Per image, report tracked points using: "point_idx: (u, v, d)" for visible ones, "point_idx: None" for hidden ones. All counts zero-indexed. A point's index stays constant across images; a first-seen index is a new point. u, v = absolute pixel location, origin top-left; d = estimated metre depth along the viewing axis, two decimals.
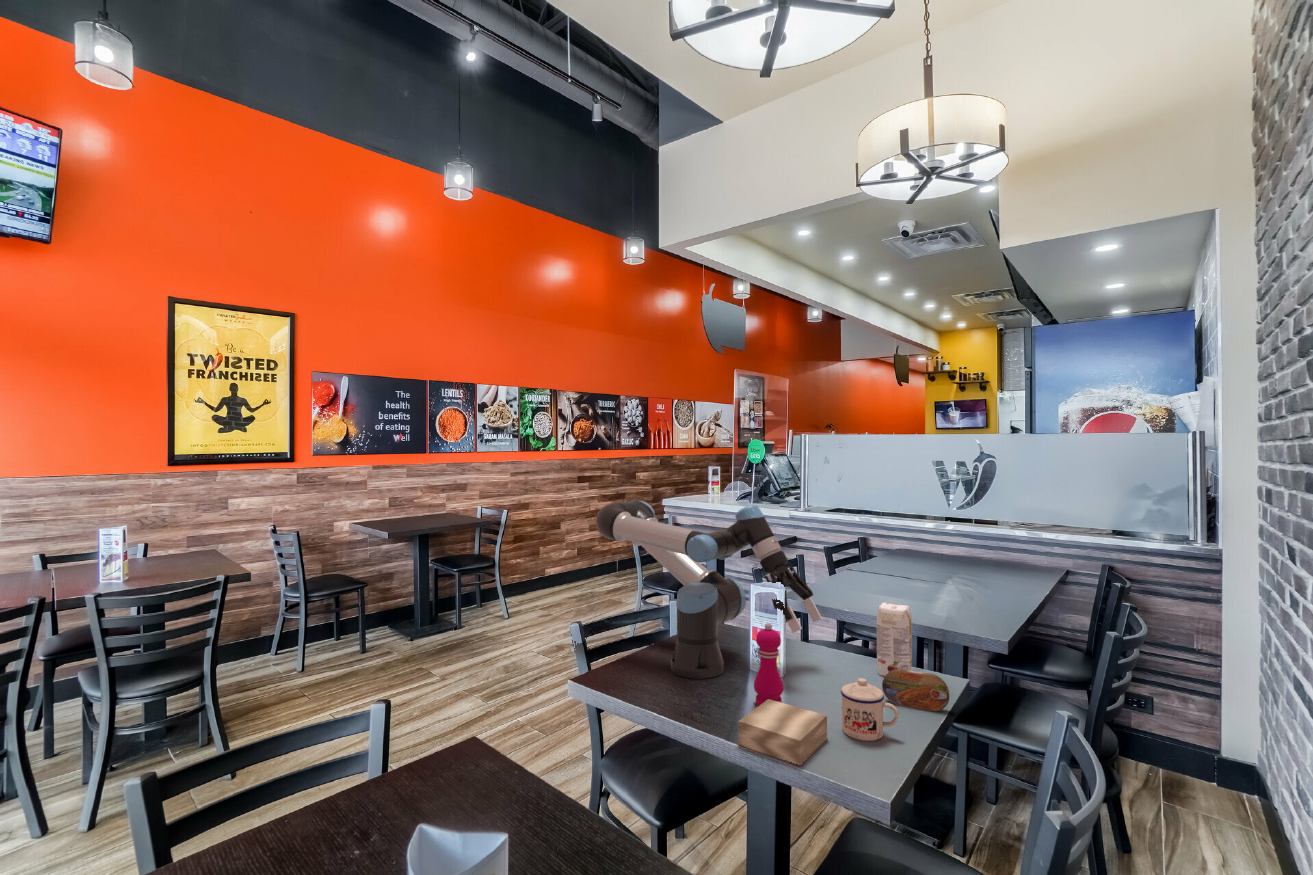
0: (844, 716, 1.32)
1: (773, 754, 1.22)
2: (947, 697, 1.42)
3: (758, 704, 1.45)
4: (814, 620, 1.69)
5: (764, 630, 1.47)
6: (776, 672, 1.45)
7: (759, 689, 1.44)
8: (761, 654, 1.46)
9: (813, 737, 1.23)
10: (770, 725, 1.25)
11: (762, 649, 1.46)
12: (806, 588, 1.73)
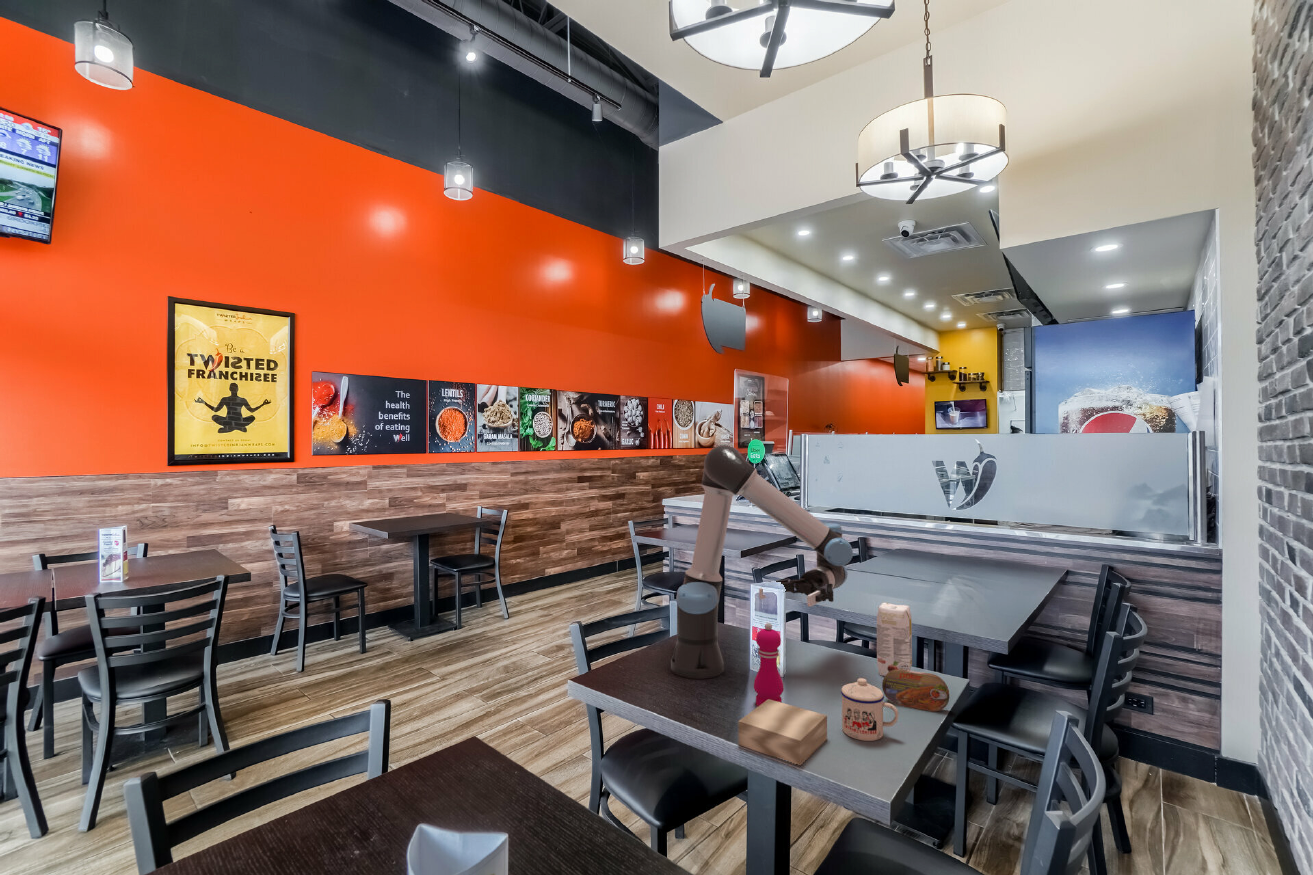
0: (844, 716, 1.32)
1: (773, 754, 1.22)
2: (947, 697, 1.42)
3: (758, 704, 1.45)
4: (762, 590, 1.59)
5: (764, 630, 1.47)
6: (776, 672, 1.45)
7: (759, 689, 1.44)
8: (761, 654, 1.46)
9: (813, 737, 1.23)
10: (770, 725, 1.25)
11: (762, 649, 1.46)
12: None
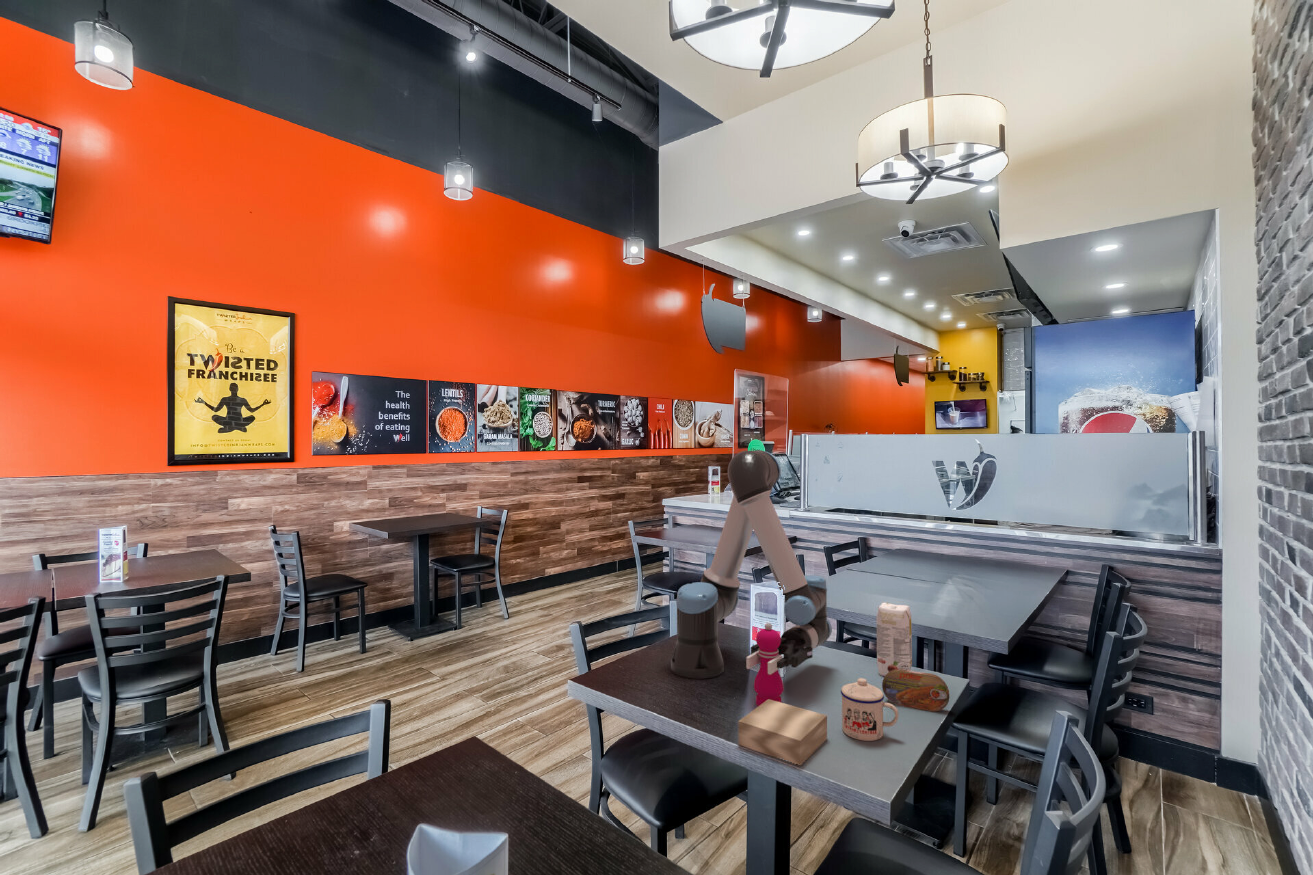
0: (844, 716, 1.32)
1: (773, 754, 1.22)
2: (947, 697, 1.42)
3: (758, 704, 1.45)
4: (749, 659, 1.45)
5: (764, 630, 1.47)
6: (776, 672, 1.45)
7: (759, 689, 1.44)
8: (761, 654, 1.46)
9: (813, 737, 1.23)
10: (770, 725, 1.25)
11: (762, 649, 1.46)
12: None
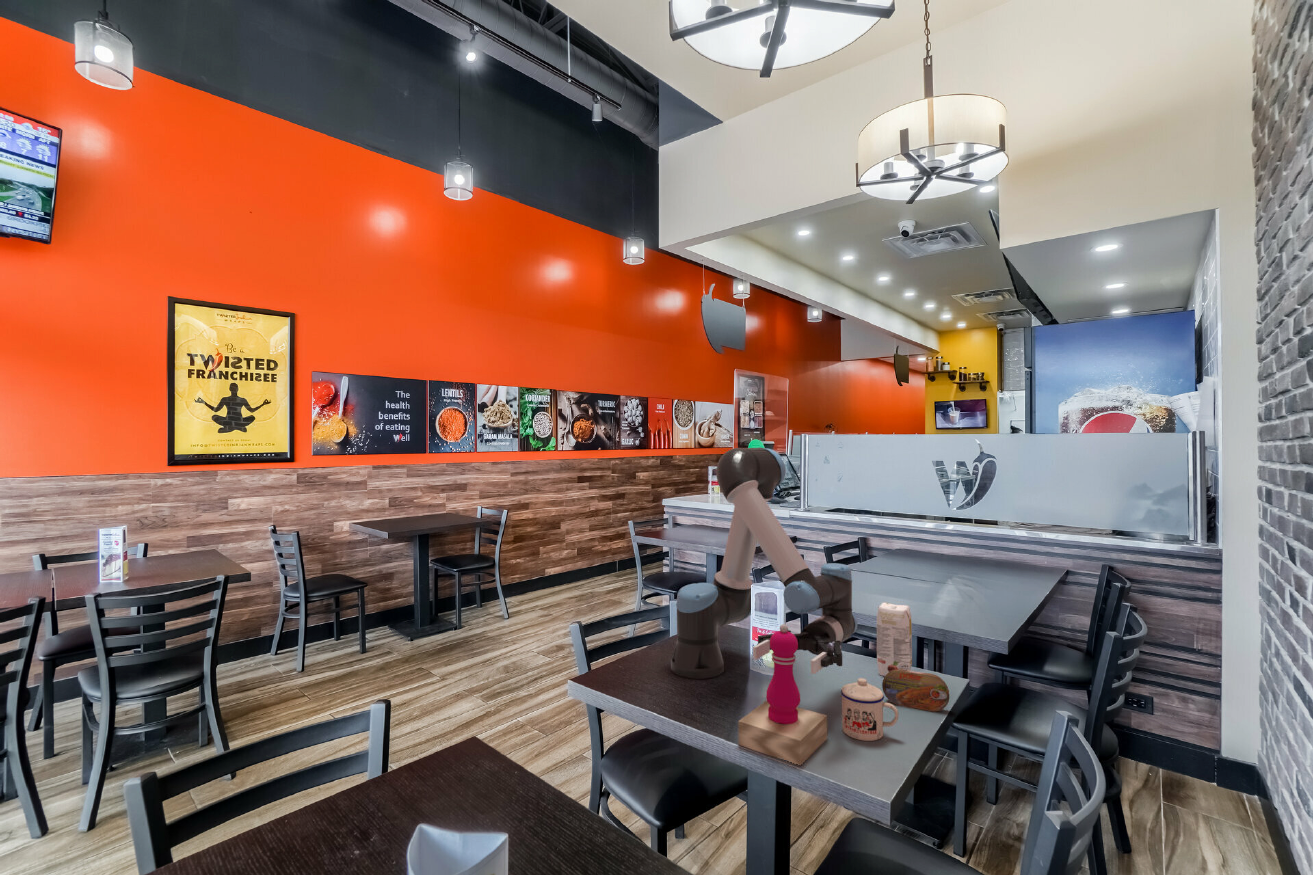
0: (844, 716, 1.32)
1: (773, 754, 1.22)
2: (947, 697, 1.42)
3: (771, 717, 1.27)
4: (756, 649, 1.32)
5: (779, 632, 1.28)
6: (792, 681, 1.27)
7: (773, 700, 1.26)
8: (775, 660, 1.27)
9: (813, 737, 1.23)
10: (770, 725, 1.25)
11: (777, 654, 1.27)
12: None
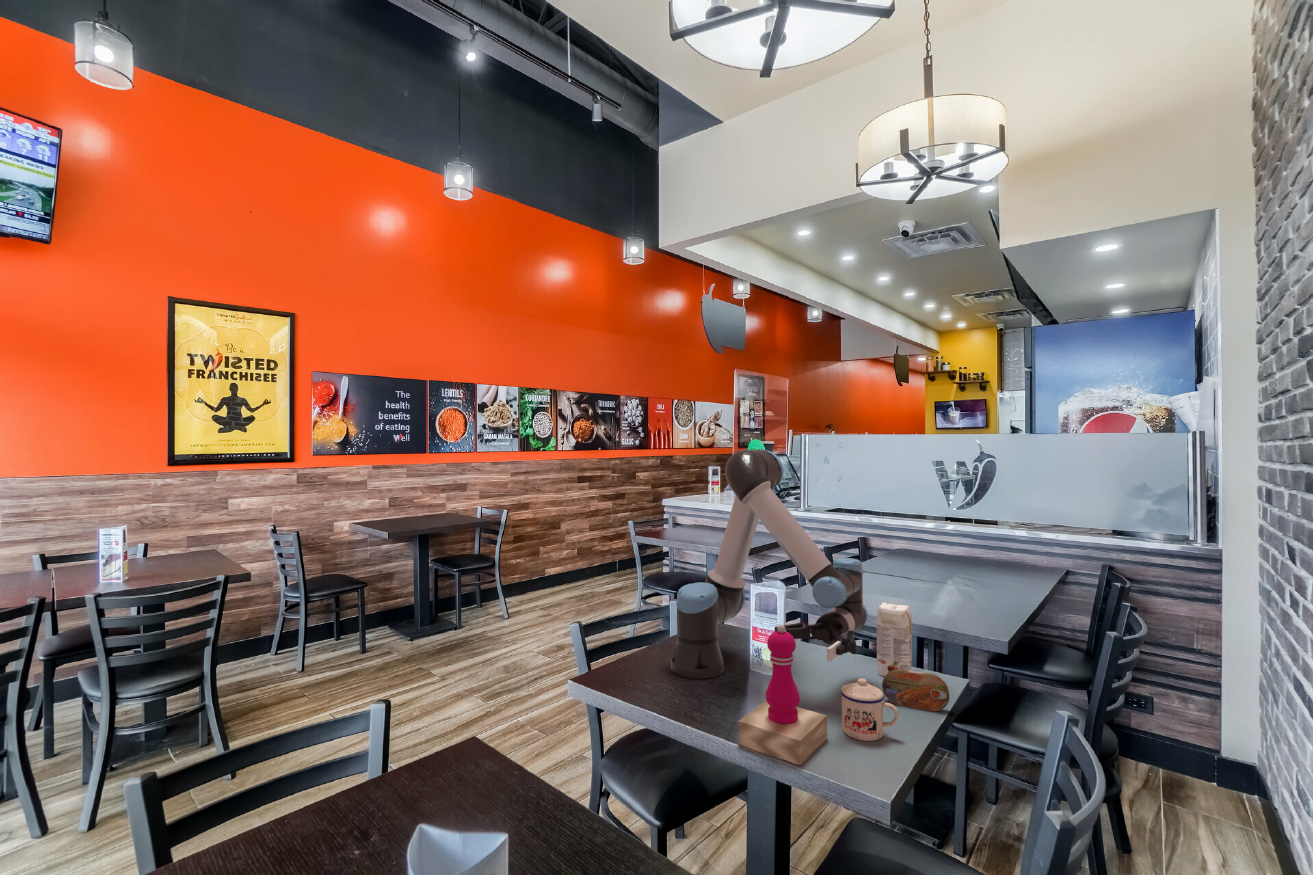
0: (844, 716, 1.32)
1: (773, 754, 1.22)
2: (947, 697, 1.42)
3: (771, 718, 1.27)
4: None
5: (776, 633, 1.28)
6: (791, 681, 1.27)
7: (772, 700, 1.26)
8: (774, 660, 1.27)
9: (813, 737, 1.23)
10: (770, 725, 1.25)
11: (775, 655, 1.27)
12: None
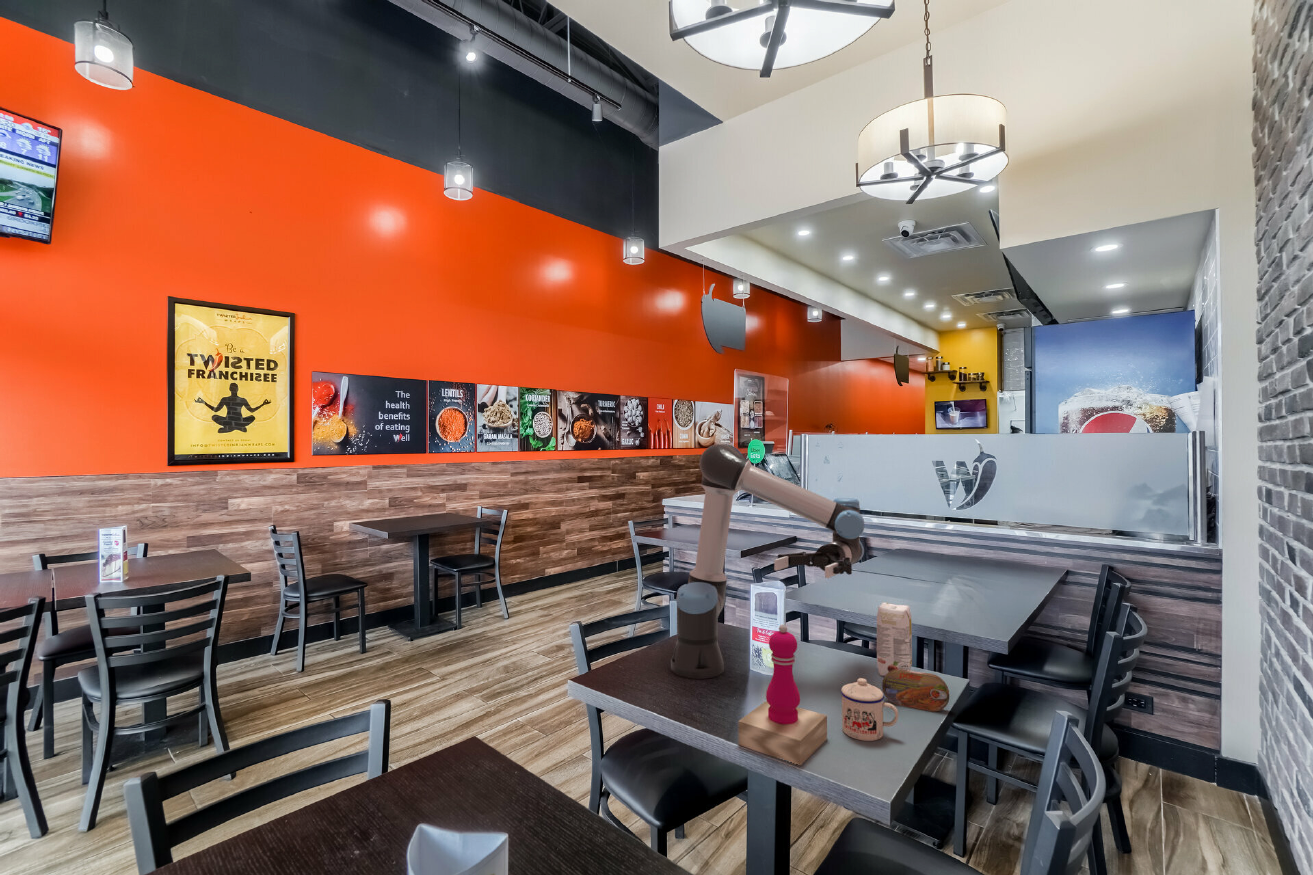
0: (844, 716, 1.32)
1: (773, 754, 1.22)
2: (947, 697, 1.42)
3: (771, 718, 1.27)
4: (777, 562, 1.54)
5: (778, 633, 1.28)
6: (792, 681, 1.27)
7: (773, 700, 1.26)
8: (775, 660, 1.27)
9: (813, 737, 1.23)
10: (770, 725, 1.25)
11: (776, 655, 1.27)
12: None
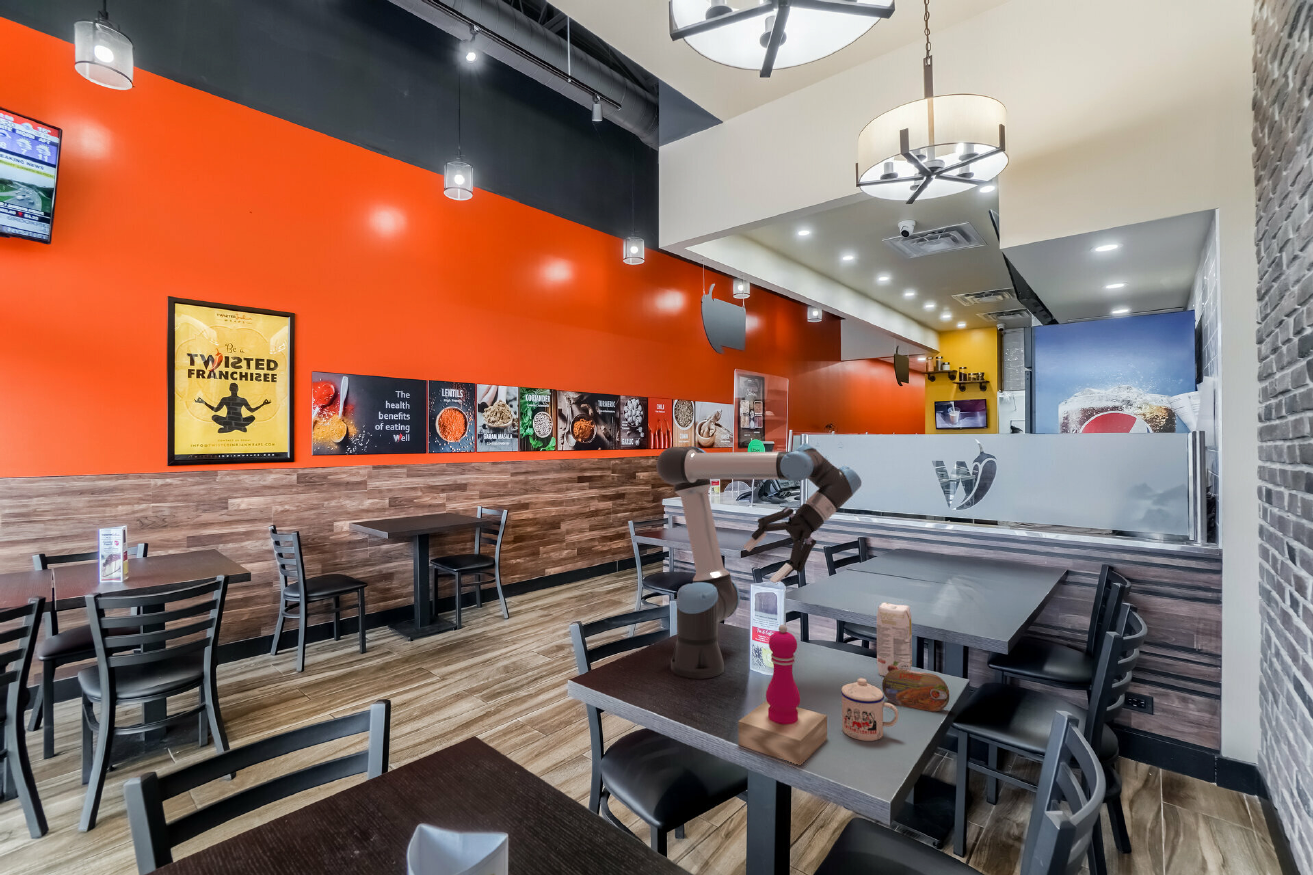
0: (844, 716, 1.32)
1: (773, 754, 1.22)
2: (947, 697, 1.42)
3: (771, 718, 1.27)
4: (771, 578, 1.64)
5: (778, 633, 1.28)
6: (792, 681, 1.27)
7: (773, 700, 1.26)
8: (775, 660, 1.27)
9: (813, 737, 1.23)
10: (770, 725, 1.25)
11: (776, 655, 1.27)
12: (800, 563, 1.64)
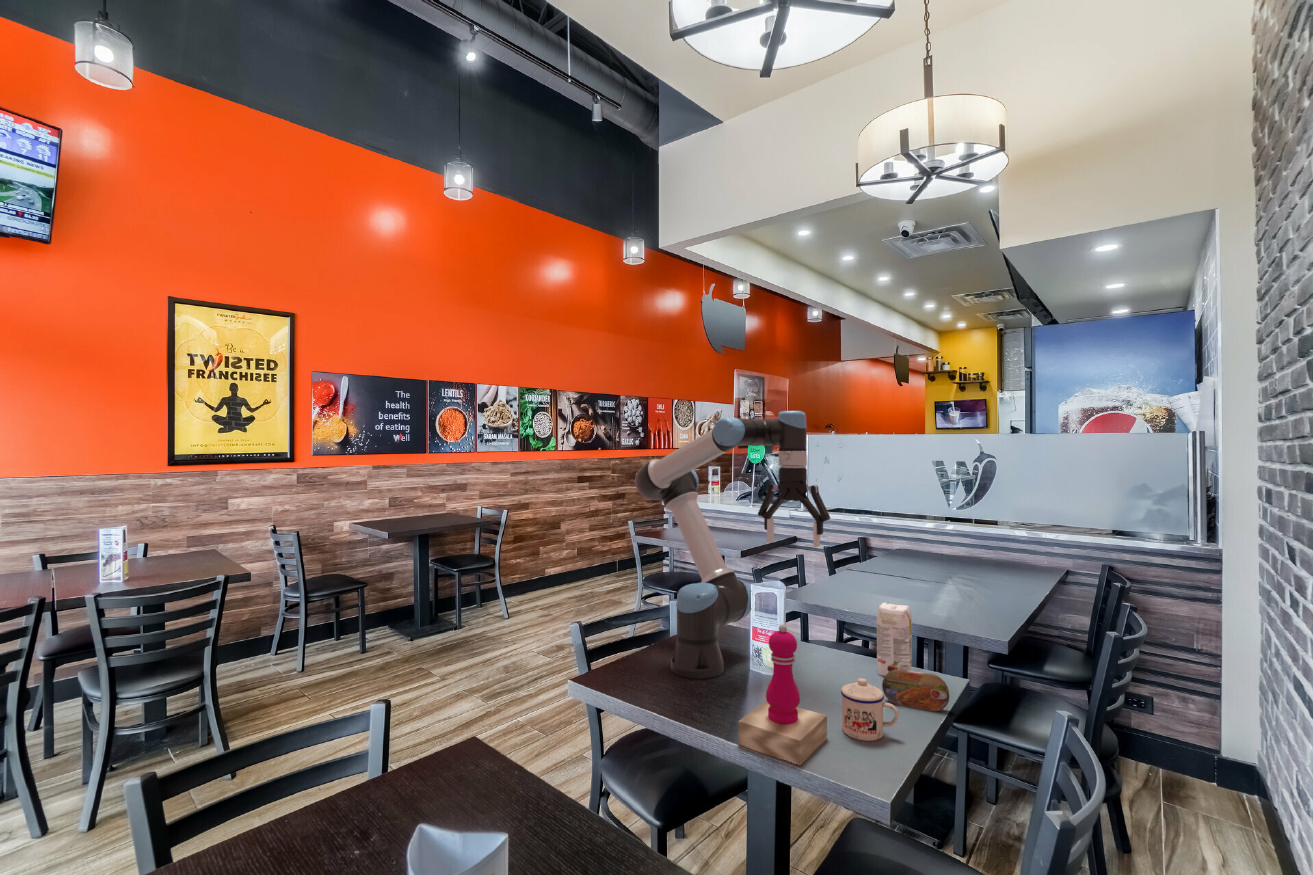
0: (844, 716, 1.32)
1: (773, 754, 1.22)
2: (947, 697, 1.42)
3: (771, 718, 1.27)
4: None
5: (778, 633, 1.28)
6: (792, 681, 1.27)
7: (773, 700, 1.26)
8: (775, 660, 1.27)
9: (813, 737, 1.23)
10: (770, 725, 1.25)
11: (776, 654, 1.27)
12: (820, 513, 1.58)
